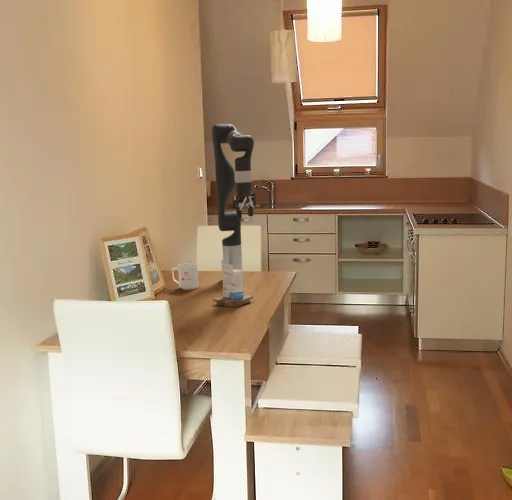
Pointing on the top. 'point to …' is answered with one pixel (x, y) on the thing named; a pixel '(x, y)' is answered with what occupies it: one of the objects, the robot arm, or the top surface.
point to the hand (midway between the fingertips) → (245, 217)
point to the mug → (187, 276)
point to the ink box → (232, 282)
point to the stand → (232, 301)
